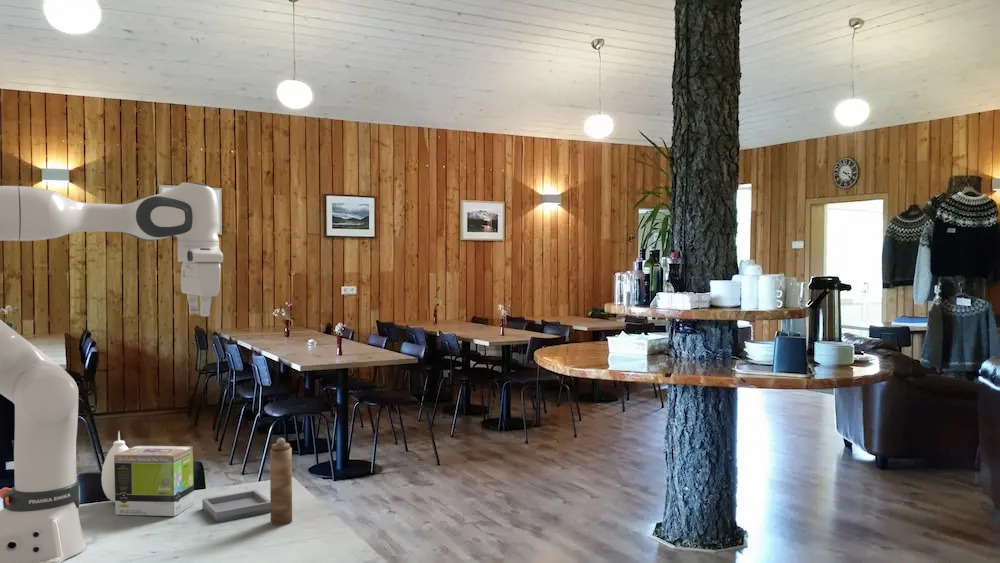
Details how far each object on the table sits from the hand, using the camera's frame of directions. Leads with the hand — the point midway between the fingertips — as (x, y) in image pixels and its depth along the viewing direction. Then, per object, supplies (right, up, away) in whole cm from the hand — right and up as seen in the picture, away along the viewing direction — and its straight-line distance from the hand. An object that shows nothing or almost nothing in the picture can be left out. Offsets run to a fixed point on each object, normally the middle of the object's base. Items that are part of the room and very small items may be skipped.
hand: (199, 314), depth 176 cm
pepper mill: (+18, -48, +2) cm, 51 cm away
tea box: (-15, -48, +11) cm, 51 cm away
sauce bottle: (-26, -48, +16) cm, 57 cm away
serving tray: (+5, -48, +10) cm, 49 cm away
